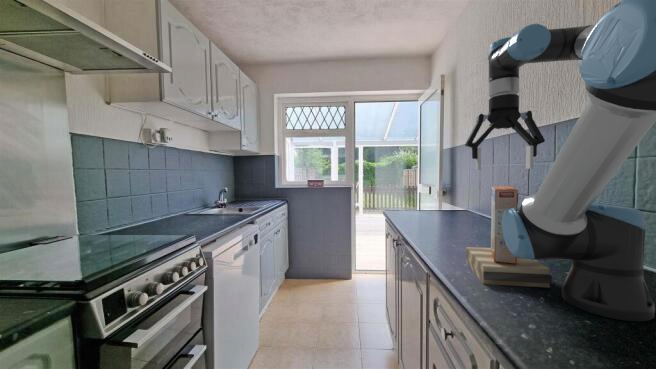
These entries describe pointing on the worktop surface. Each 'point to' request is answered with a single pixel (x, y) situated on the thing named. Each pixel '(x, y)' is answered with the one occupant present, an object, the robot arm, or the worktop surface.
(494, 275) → the dock
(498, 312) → the worktop surface
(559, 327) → the worktop surface
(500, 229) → the cracker box
